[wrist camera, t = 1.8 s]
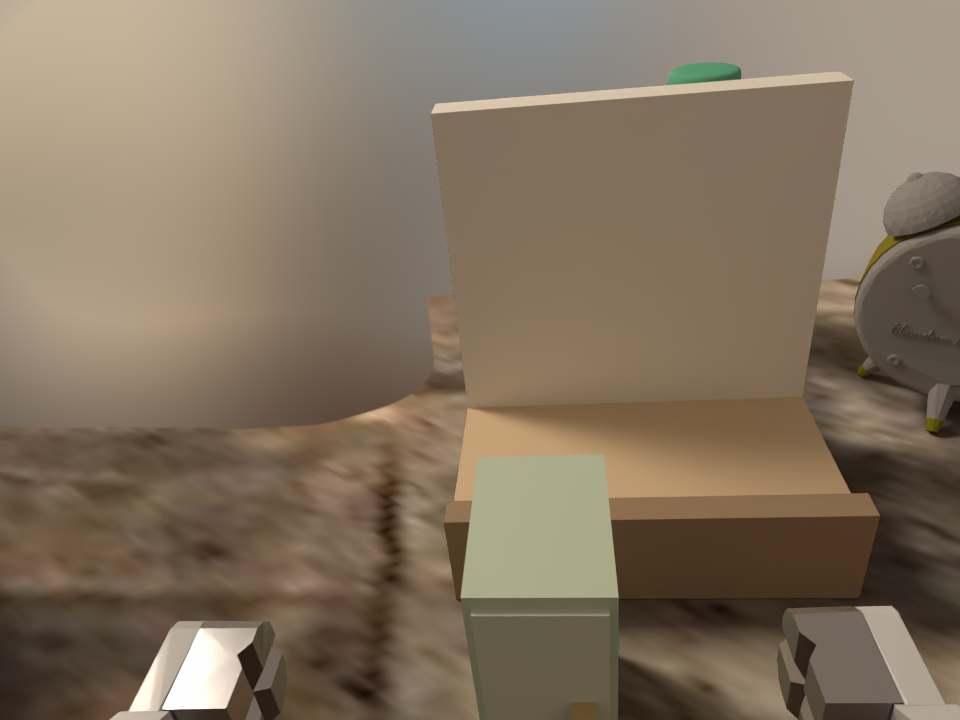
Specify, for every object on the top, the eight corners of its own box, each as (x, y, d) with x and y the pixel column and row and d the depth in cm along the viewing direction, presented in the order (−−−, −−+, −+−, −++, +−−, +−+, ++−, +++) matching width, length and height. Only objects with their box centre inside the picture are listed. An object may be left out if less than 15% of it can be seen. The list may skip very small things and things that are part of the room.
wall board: (456, 599, 39) (389, 193, 27) (476, 438, 50) (435, 103, 39) (859, 598, 37) (972, 154, 25) (785, 429, 48) (839, 71, 36)
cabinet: (490, 827, 29) (456, 627, 23) (501, 649, 36) (477, 457, 30) (619, 831, 29) (621, 626, 22) (605, 650, 36) (604, 454, 29)
